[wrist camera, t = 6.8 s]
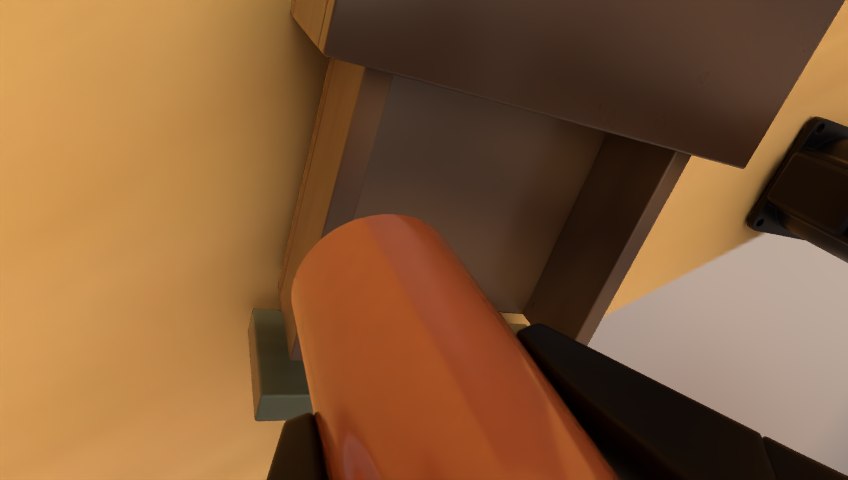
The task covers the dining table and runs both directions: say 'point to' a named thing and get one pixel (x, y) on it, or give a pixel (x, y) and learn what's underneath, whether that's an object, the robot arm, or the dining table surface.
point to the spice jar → (423, 367)
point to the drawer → (467, 206)
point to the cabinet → (595, 59)
